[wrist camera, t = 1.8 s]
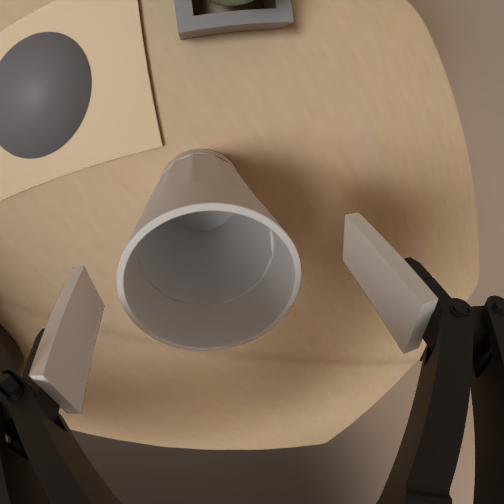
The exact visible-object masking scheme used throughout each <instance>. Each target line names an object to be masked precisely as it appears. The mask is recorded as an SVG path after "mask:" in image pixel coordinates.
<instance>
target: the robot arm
mask: <svg viewBox="0 0 504 504" xmlns="http://www.w3.org/2000/svg"><path fill="white" fill-rule="evenodd" d="M342 260H343V262H344V263H345V265H346V266H347V267H348V269H349V270H350V272H351V273H352V275H353V276H354V278H355V279H356V281H357V282H358V284H359V285H360V286H361V288H362V289H363V291H364V292H365V294H366V295H367V297H368V298H369V300H370V302H371V303H372V305H373V306H374V308H375V309H376V311H377V312H378V314H379V315H380V317H381V318H382V320H383V322H384V323H385V325H386V326H387V328H388V330H389V331H390V333H391V334H392V336H393V338H394V339H395V341H396V342H397V344H398V346H399V347H400V349H401V351H402V352H403V354H404V353H407V352H409V351H412V350H414V349H417V348H419V346H420V343H421V341H422V339H424V341H425V342H426V344H427V346H426V348H425V350H424V352H423V354H422V356H421V358H420V361H422V360H423V363H422V367H421V372H420V376H419V381H418V385H417V389H416V393H415V398H414V401H413V405H412V409H411V412H410V416H409V419H408V423H407V426H406V430H405V433H404V436H403V439H402V442H401V445H400V448H399V451H398V453H397V457H396V459H395V462H394V464H393V467H392V470H391V472H390V475H389V478H388V480H387V482H386V485H385V487H384V489H383V492H382V494H381V496H380V498H379V500H378V502H377V503H376V504H452V499H451V497H450V495H449V491H450V486H451V483H452V480H453V476H454V473H455V469H456V465H457V461H458V457H459V452H460V448H461V443H462V439H463V434H464V428H465V422H466V417H467V410H468V403H469V395H470V387H471V395H472V405H473V416H474V431H475V487H474V502H473V504H504V299H503V298H501V297H499V296H490V297H489V298H488V299H487V301H486V303H485V305H484V306H473V307H470V305H469V304H468V303H467V302H465V301H464V300H461V299H458V298H451V297H450V296H449V295H448V294H447V293H446V291H445V290H444V289H443V288H442V287H441V286H440V285H439V283H438V282H437V281H436V280H435V279H434V278H432V276H431V275H430V273H429V272H427V270H426V269H425V268H424V267H423V266H422V265H421V264H420V263H419V262H417V261H416V260H414V259H412V258H410V257H409V258H405V259H403V258H402V257H401V256H400V255H399V253H398V252H397V251H396V250H395V249H394V248H393V247H392V246H391V245H390V244H389V243H388V242H387V241H386V240H385V239H384V238H383V237H382V235H381V234H380V233H379V232H378V231H377V230H376V229H375V228H374V227H373V226H372V225H371V224H370V223H369V222H368V221H367V220H366V219H365V218H364V217H363V216H362V215H361V214H360V213H359V212H358V213H352V214H346V215H345V225H344V244H343V259H342ZM104 307H105V306H104V304H103V302H102V300H101V298H100V296H99V294H98V292H97V290H96V289H95V287H94V285H93V283H92V281H91V279H90V277H89V275H88V273H87V271H86V268H85V266H80V267H75V268H72V269H71V271H70V273H69V275H68V278H67V280H66V282H65V284H64V286H63V288H62V290H61V293H60V295H59V297H58V299H57V301H56V304H55V306H54V308H53V311H52V313H51V316H50V318H49V320H48V323H47V325H46V328H43V329H42V330H41V331H40V333H39V334H38V335H37V337H36V339H35V341H34V344H33V348H32V349H31V352H30V355H29V358H28V360H27V363H26V366H25V369H24V360H23V356H22V354H21V352H20V350H19V348H18V346H17V345H16V343H15V342H14V341H13V339H12V338H11V337H10V336H9V334H8V333H7V332H6V331H5V330H4V329H3V328H2V327H1V326H0V504H51V503H52V504H122V503H121V502H120V500H119V499H118V498H117V497H116V496H115V494H114V493H113V492H112V491H111V489H110V488H109V487H108V486H107V484H106V483H105V482H104V480H103V479H102V478H101V477H100V475H99V474H98V472H97V471H96V469H95V468H94V467H93V465H92V464H91V462H90V461H89V459H88V458H87V456H86V455H85V453H84V452H83V450H82V449H81V447H80V446H79V444H78V442H77V441H76V439H75V437H74V436H73V434H72V433H71V431H70V429H69V427H68V426H67V424H66V422H65V420H64V419H63V417H62V416H61V415H60V414H59V413H58V412H59V407H61V408H62V409H63V410H64V411H66V412H67V413H80V414H81V413H82V407H83V401H84V395H85V389H86V384H87V379H88V373H89V369H90V364H91V359H92V355H93V350H94V346H95V342H96V337H97V333H98V329H99V326H100V322H101V318H102V314H103V311H104ZM23 369H24V372H23ZM22 372H23V375H22ZM21 375H22V377H21ZM5 436H7V437H8V442H6V439H5Z"/></svg>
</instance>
